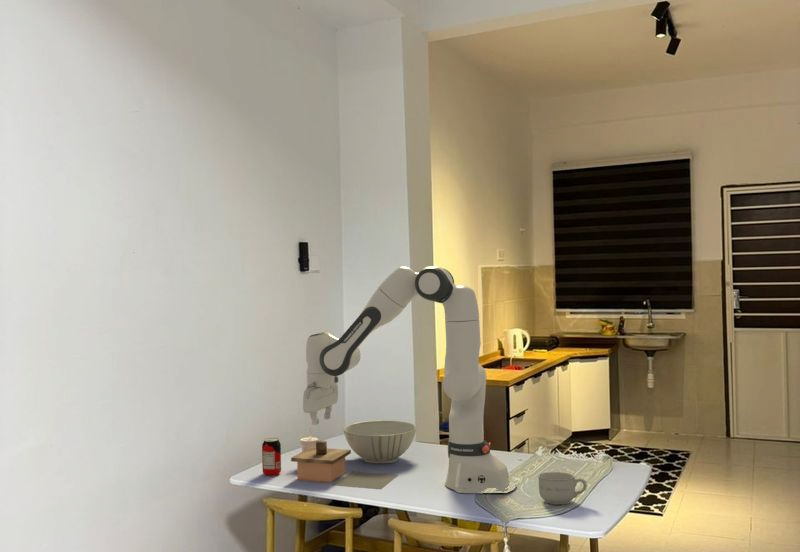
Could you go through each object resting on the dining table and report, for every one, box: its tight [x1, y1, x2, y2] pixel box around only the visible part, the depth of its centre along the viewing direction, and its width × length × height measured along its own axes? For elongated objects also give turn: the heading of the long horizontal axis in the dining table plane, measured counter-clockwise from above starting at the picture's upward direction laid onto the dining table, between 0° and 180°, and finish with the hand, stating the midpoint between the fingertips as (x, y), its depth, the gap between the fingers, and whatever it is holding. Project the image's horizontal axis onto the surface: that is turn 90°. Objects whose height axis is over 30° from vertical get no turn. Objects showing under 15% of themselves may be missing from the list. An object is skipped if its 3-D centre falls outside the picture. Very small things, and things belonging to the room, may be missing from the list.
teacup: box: [537, 471, 588, 505], centre depth 209 cm, size 14×11×8 cm
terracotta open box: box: [296, 457, 346, 484], centre depth 240 cm, size 12×12×7 cm
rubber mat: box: [332, 470, 399, 490], centre depth 235 cm, size 17×17×1 cm
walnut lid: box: [290, 440, 352, 464], centre depth 240 cm, size 15×15×5 cm
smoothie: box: [299, 426, 319, 452], centre depth 256 cm, size 6×6×14 cm
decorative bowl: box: [343, 419, 417, 464], centre depth 262 cm, size 27×27×12 cm
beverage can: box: [261, 437, 282, 477], centre depth 246 cm, size 6×6×12 cm
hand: (321, 421), depth 240 cm, fingers open, 8 cm apart
